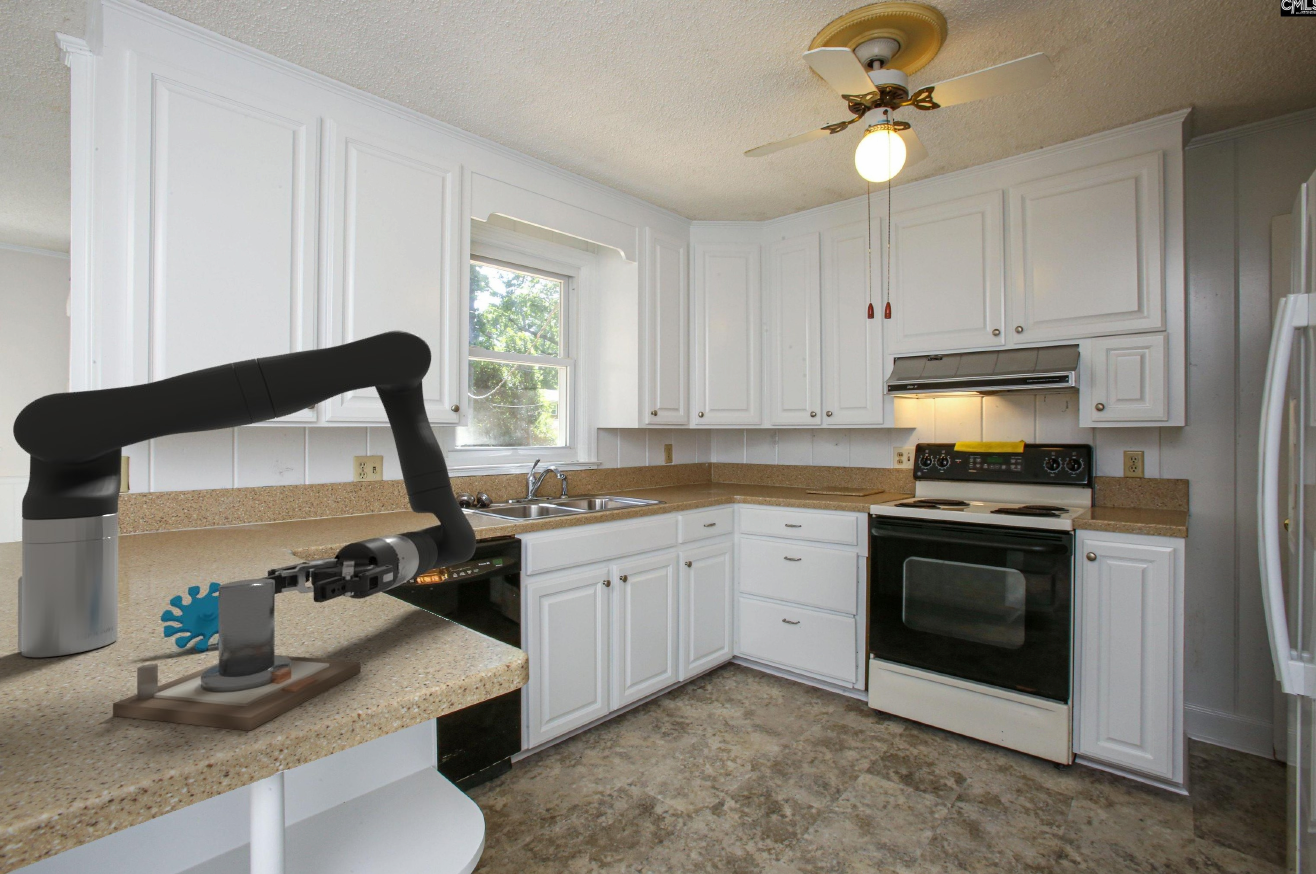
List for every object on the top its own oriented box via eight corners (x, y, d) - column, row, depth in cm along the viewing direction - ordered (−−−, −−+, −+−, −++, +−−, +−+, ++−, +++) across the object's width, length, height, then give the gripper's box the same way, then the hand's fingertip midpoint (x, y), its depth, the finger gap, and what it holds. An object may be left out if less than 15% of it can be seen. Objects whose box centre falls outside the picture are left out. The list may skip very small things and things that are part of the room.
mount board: (112, 715, 61) (112, 672, 61) (245, 662, 75) (245, 627, 75) (249, 730, 57) (249, 685, 57) (360, 672, 72) (360, 635, 72)
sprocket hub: (180, 689, 63) (180, 591, 64) (248, 662, 71) (248, 574, 71) (252, 696, 62) (252, 594, 62) (314, 667, 69) (313, 577, 69)
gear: (151, 647, 77) (170, 578, 83) (151, 671, 80) (170, 603, 86) (257, 644, 82) (267, 580, 89) (253, 667, 85) (263, 603, 92)
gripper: (333, 536, 89) (233, 557, 73) (423, 539, 86) (337, 561, 70) (334, 589, 89) (233, 621, 73) (423, 593, 86) (338, 628, 70)
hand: (284, 591), depth 71 cm, fingers open, 8 cm apart
